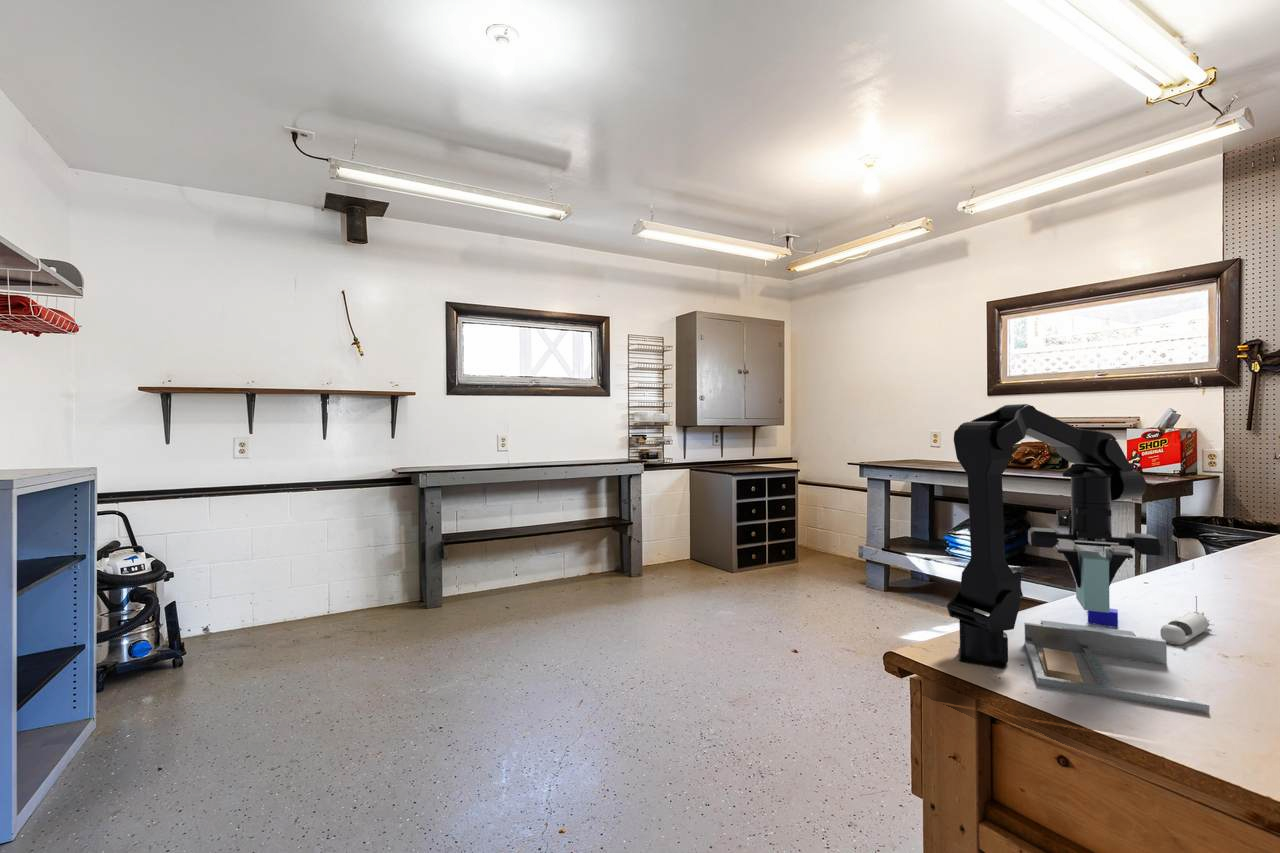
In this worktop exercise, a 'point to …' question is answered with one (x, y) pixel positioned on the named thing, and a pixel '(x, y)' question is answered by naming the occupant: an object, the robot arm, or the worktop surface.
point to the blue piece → (1104, 618)
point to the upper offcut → (1061, 665)
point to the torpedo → (1185, 627)
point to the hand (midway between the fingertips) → (1092, 588)
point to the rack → (1100, 646)
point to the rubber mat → (1088, 628)
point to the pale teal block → (1093, 581)
